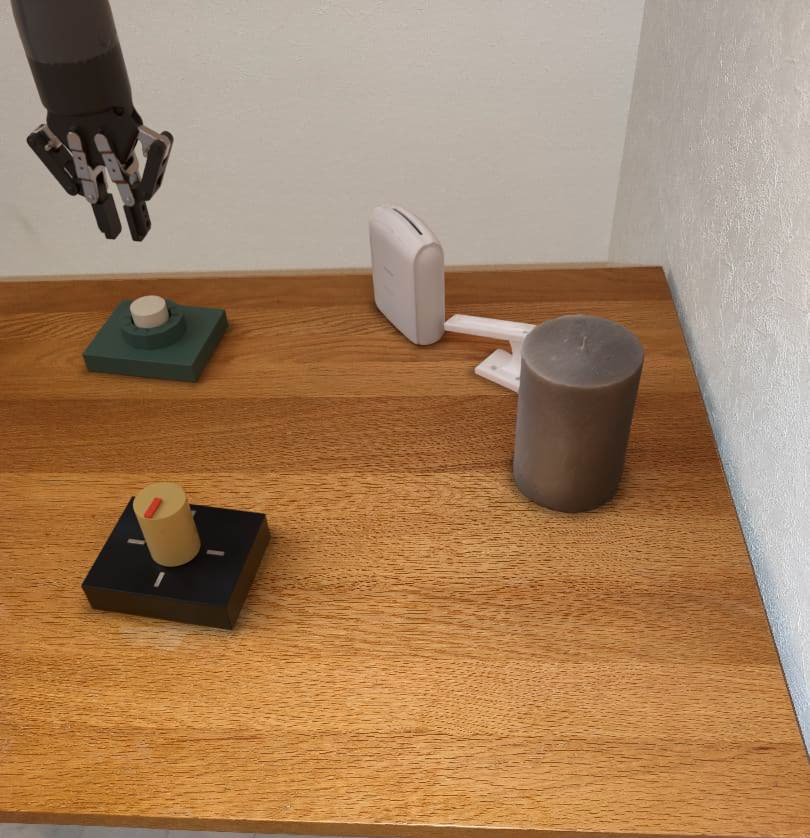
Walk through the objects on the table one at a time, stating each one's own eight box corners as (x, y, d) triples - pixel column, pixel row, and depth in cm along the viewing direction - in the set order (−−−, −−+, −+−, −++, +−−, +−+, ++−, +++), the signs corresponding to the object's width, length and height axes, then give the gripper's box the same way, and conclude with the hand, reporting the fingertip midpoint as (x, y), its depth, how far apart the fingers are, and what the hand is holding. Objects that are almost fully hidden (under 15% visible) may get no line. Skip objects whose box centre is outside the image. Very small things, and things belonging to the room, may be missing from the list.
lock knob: (164, 525, 74) (146, 475, 69) (208, 534, 73) (193, 483, 68) (142, 561, 71) (122, 511, 67) (188, 570, 70) (171, 520, 66)
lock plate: (91, 608, 72) (79, 584, 70) (140, 519, 78) (131, 494, 76) (232, 630, 70) (225, 606, 68) (271, 537, 76) (265, 511, 74)
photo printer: (369, 304, 99) (361, 199, 90) (402, 293, 101) (398, 187, 91) (415, 352, 93) (412, 244, 84) (450, 339, 94) (451, 231, 85)
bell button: (128, 328, 92) (124, 313, 90) (142, 308, 94) (138, 293, 93) (161, 331, 91) (157, 316, 90) (174, 311, 93) (170, 296, 92)
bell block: (88, 371, 93) (76, 339, 90) (126, 316, 99) (117, 284, 96) (196, 382, 91) (187, 350, 88) (228, 326, 97) (221, 294, 94)
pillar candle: (637, 502, 78) (669, 362, 66) (529, 522, 77) (543, 382, 65) (598, 430, 84) (621, 291, 73) (498, 447, 83) (506, 309, 72)
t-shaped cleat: (600, 430, 84) (608, 384, 80) (432, 354, 93) (432, 309, 89) (622, 408, 86) (630, 362, 82) (455, 335, 95) (456, 290, 91)
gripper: (168, 27, 74) (209, 222, 87) (16, 21, 76) (78, 211, 89) (131, 62, 69) (181, 263, 82) (-30, 54, 71) (43, 251, 84)
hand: (127, 235), depth 85 cm, fingers closed
